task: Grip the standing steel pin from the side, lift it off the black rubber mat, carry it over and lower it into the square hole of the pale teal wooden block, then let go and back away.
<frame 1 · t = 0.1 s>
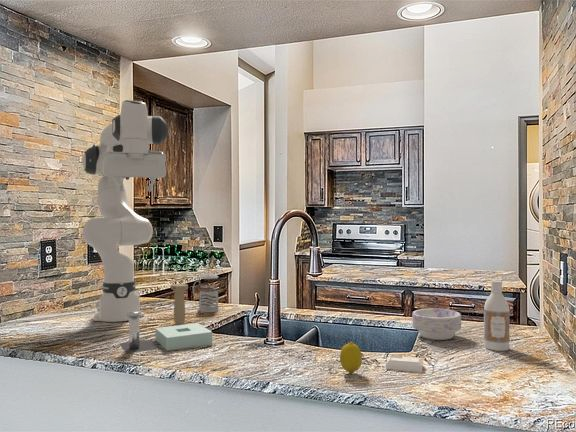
hand: (135, 191, 163), 48 cm above the worktop, tool pointing down, fingers open, 8 cm apart
hole block: (183, 342, 154), on the worktop
pin: (134, 348, 147), resting on mat
marbled white bowl: (436, 337, 160), on the worktop
handle: (179, 327, 175), on the worktop
french press: (206, 310, 206), on the worktop
lemon: (350, 374, 124), on the worktop
soap bar: (404, 369, 129), on the worktop
mat: (139, 346, 150), on the worktop
bath foam: (496, 348, 146), on the worktop
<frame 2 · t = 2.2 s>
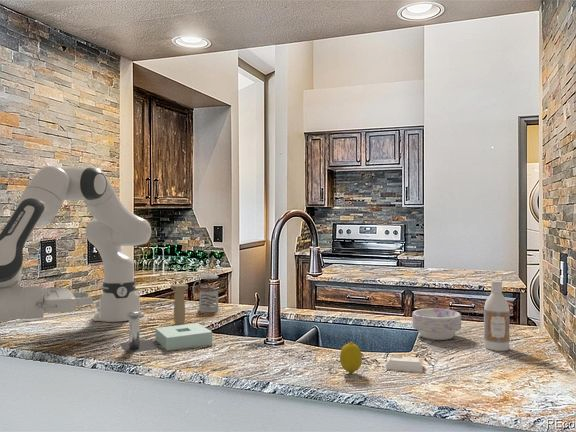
hand: (90, 297, 141), 17 cm above the worktop, tool horizontal, fingers open, 8 cm apart
nothing on the worktop moved.
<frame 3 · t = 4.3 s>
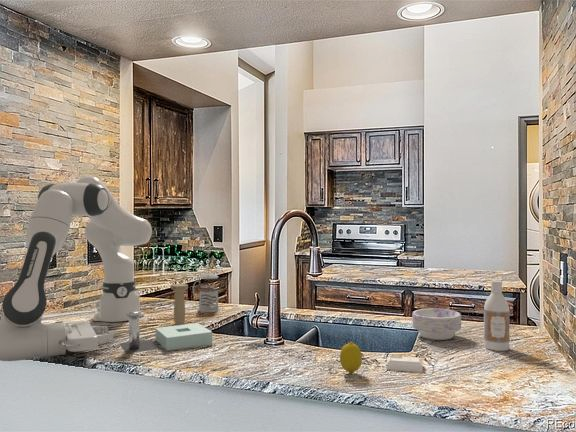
hand: (110, 332, 144), 6 cm above the worktop, tool horizontal, fingers open, 8 cm apart
nothing on the worktop moved.
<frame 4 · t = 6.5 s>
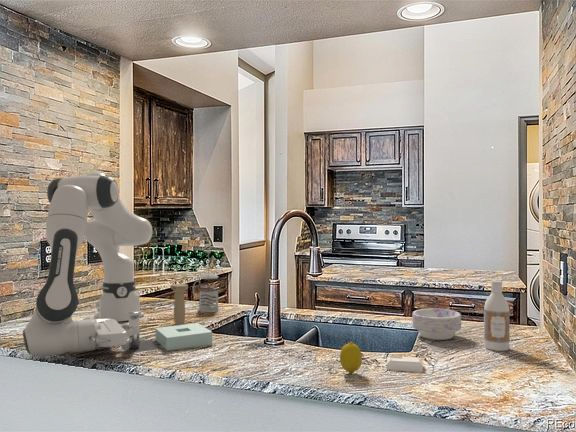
hand: (137, 328, 147), 6 cm above the worktop, tool horizontal, fingers closed on pin, 3 cm apart
pin: (134, 348, 147), resting on mat, touching gripper
everything else where it was.
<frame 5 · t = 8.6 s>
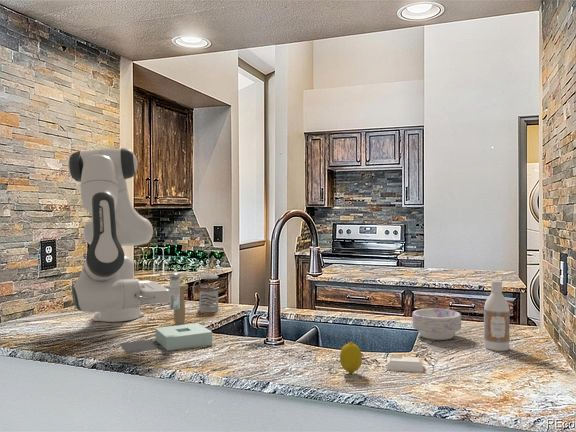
hand: (177, 289, 153), 17 cm above the worktop, tool horizontal, fingers closed on pin, 3 cm apart
pin: (174, 308, 153), point 11 cm above the worktop, touching gripper
everything else where it was.
when the fingers open (9 cm above the worktop, at t = 11.1 s): pin drops 3 cm, resting in hole block.
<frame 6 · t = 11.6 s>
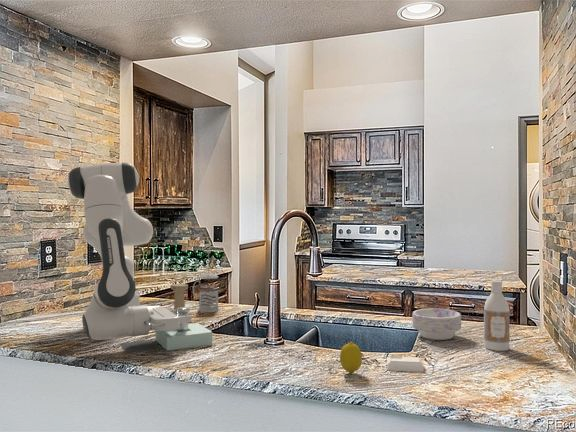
hand: (186, 315, 154), 9 cm above the worktop, tool horizontal, fingers open, 8 cm apart
pin: (183, 342, 154), resting in hole block
everything else where it was.
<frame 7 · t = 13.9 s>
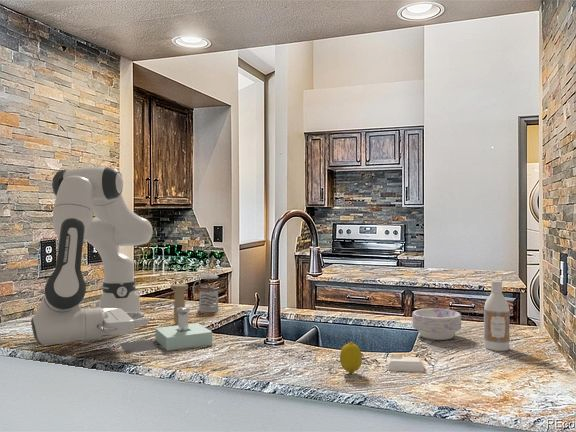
hand: (143, 318, 148), 9 cm above the worktop, tool horizontal, fingers open, 8 cm apart
nothing on the worktop moved.
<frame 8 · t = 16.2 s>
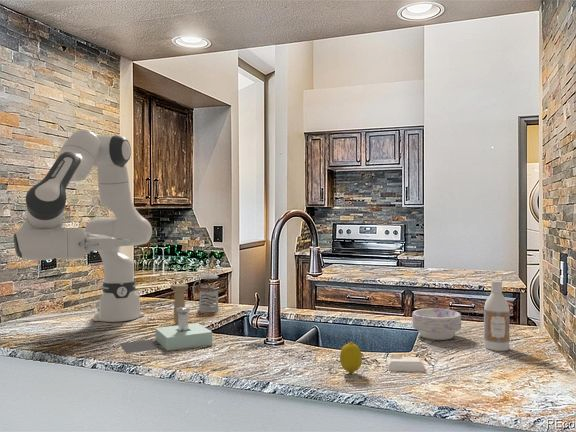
hand: (126, 241, 150), 32 cm above the worktop, tool horizontal, fingers open, 8 cm apart
nothing on the worktop moved.
at the end: pin 0.0 cm off-centre on the hole block, point 0.0 cm above the hole block's base; pin tilted 0°; the gripper is holding nothing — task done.
